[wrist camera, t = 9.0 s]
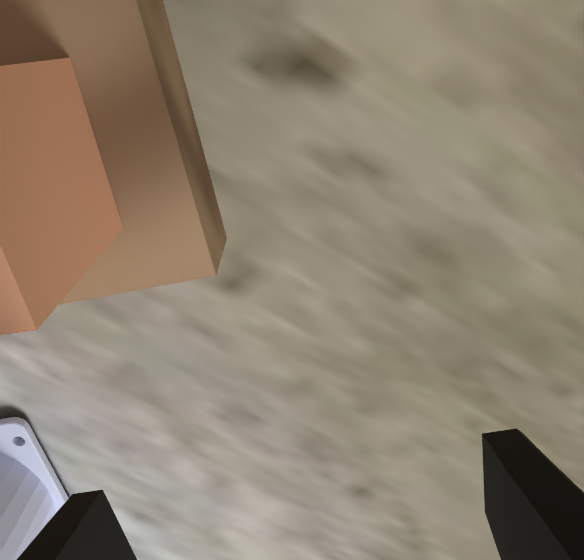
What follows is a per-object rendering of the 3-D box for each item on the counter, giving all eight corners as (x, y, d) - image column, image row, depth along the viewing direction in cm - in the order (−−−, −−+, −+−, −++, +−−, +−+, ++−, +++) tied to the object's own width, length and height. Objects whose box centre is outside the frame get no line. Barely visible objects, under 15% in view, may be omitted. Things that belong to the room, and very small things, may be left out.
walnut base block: (227, 233, 18) (215, 275, 15) (18, 273, 19) (-35, 321, 16) (160, -19, 15) (127, -32, 12) (-93, 39, 16) (-190, 42, 12)
